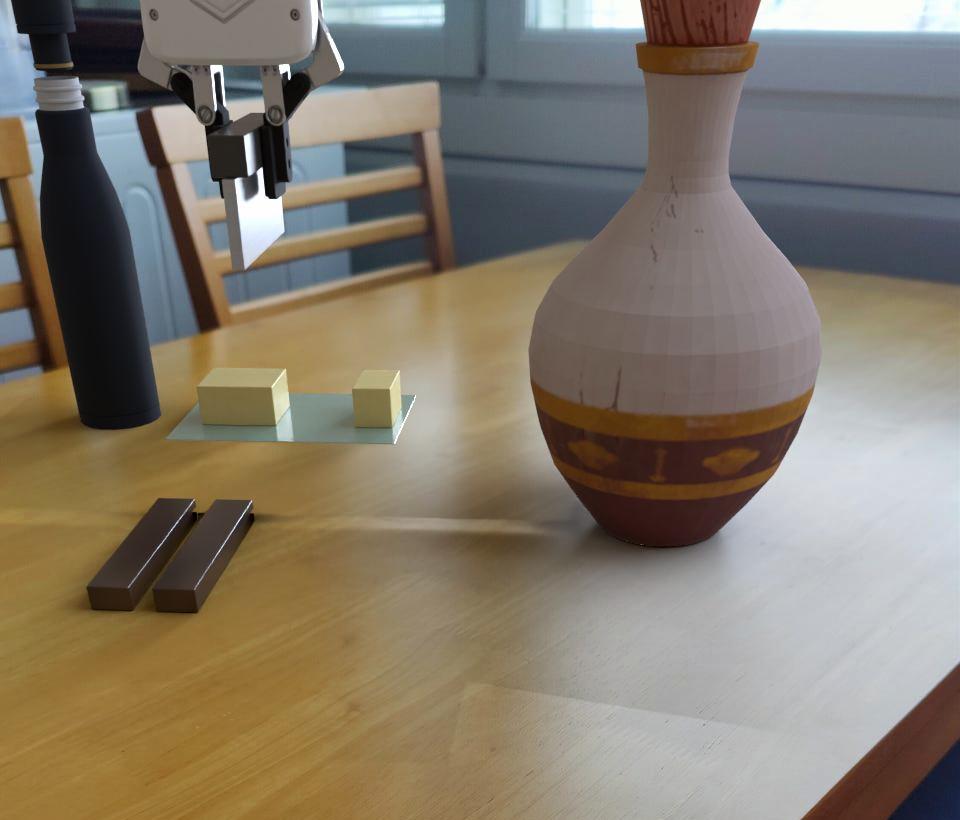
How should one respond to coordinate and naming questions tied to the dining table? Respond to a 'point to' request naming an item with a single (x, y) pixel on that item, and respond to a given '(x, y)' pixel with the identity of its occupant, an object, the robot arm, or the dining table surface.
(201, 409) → the butter
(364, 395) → the butter pat
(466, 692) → the dining table surface
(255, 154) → the black and grey blade
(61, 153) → the black bottle
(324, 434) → the butter dish
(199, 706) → the dining table surface
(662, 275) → the ceramic vase
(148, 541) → the stand
